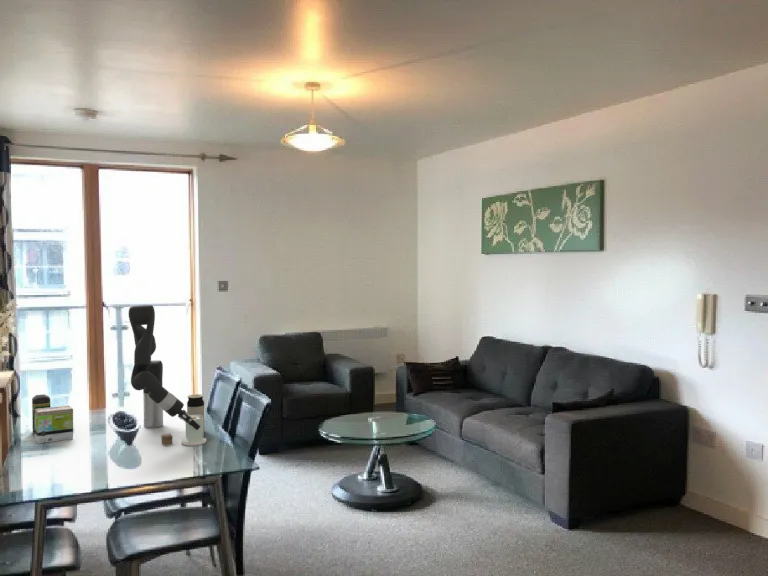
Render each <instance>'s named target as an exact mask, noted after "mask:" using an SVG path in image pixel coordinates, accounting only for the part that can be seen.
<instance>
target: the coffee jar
mask: <svg viewBox="0 0 768 576" xmlns="http://www.w3.org/2000/svg"><path fill="white" fill-rule="evenodd" d="M31 400H32V401H31V406H32V407H31V408H32V411H31V412H32V413H31V414H32V416H31V417H32V418H31V419H32V420H31V422H32V433H33V435H35V409H39V408H49V407H52V406H51V397H50V396H49V395H46V394H36V395H35V396H33V397H32V399H31Z"/></svg>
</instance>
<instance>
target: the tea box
mask: <svg viewBox="0 0 768 576" xmlns="http://www.w3.org/2000/svg"><path fill="white" fill-rule="evenodd" d="M67 439H70V440H73V439H74V408H73V407H72V406H70V405H69V404H68V405H61V406H60V405H59V406H51V407H49V408H39V409H35V434H34V440H35V442H36V443H37V442H38V443H37V444H44V442H45V443H52V442H59V441H58V440H61V441H68V440H67Z"/></svg>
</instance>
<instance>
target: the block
mask: <svg viewBox="0 0 768 576" xmlns="http://www.w3.org/2000/svg"><path fill="white" fill-rule="evenodd" d="M161 445H163V446H168V445H173V434H172V433H162V434H161Z"/></svg>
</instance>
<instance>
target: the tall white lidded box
mask: <svg viewBox="0 0 768 576" xmlns="http://www.w3.org/2000/svg"><path fill="white" fill-rule="evenodd" d="M190 416H191V417H198V416H199V417H200V418H201V419H202V437H203V438H205V437H204V432H205V431H204V432H203V416H202V415H201V414H195V415H190Z"/></svg>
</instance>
